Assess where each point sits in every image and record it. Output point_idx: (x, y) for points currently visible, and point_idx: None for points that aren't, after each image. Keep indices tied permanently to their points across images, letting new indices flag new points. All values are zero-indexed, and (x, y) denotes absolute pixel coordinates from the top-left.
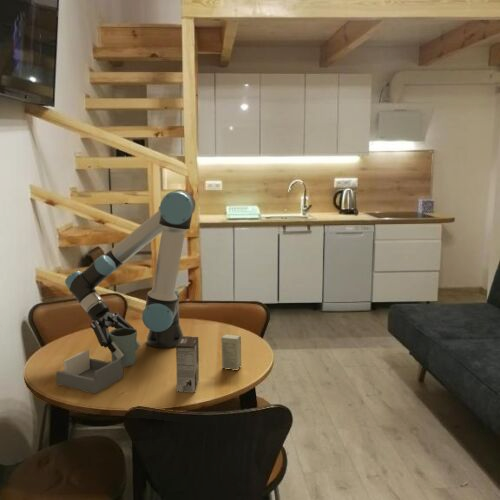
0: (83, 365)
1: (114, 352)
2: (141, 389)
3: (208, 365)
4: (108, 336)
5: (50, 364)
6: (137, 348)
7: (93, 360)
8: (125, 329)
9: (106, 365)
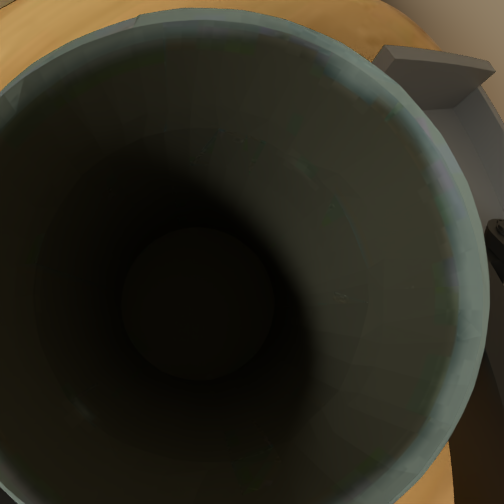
0: None
1: None
2: (309, 12)
3: (9, 24)
4: (491, 295)
5: None
6: None
7: None
8: (24, 469)
9: (457, 62)
